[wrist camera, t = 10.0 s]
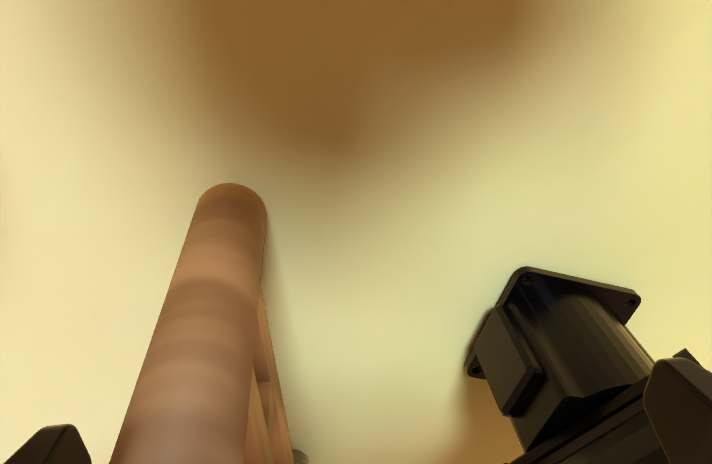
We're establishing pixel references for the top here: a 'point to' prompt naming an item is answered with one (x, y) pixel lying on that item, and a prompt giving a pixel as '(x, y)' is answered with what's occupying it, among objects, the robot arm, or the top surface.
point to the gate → (211, 350)
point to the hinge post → (299, 457)
